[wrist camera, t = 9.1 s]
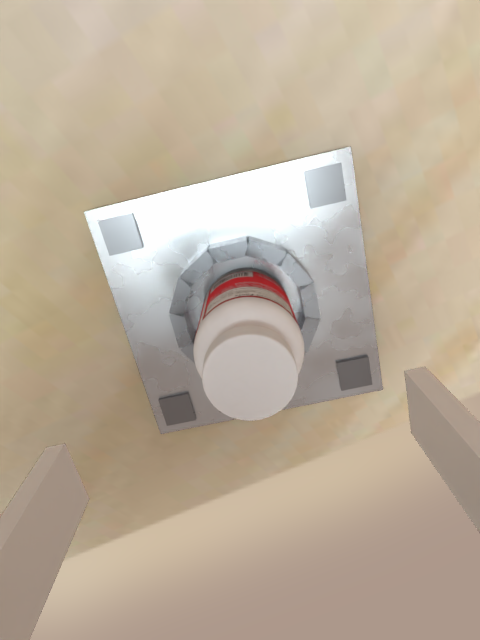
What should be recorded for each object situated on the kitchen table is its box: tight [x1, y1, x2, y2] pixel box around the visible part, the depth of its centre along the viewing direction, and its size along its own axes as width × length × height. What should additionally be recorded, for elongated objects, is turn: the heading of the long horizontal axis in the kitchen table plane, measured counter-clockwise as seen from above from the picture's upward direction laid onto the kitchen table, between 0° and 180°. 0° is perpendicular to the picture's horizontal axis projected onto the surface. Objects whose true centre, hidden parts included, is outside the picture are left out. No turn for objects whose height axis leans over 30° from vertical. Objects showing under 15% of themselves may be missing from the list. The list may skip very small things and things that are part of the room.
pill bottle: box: [193, 268, 304, 421], centre depth 26 cm, size 6×6×11 cm
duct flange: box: [84, 147, 383, 434], centre depth 30 cm, size 18×18×3 cm
